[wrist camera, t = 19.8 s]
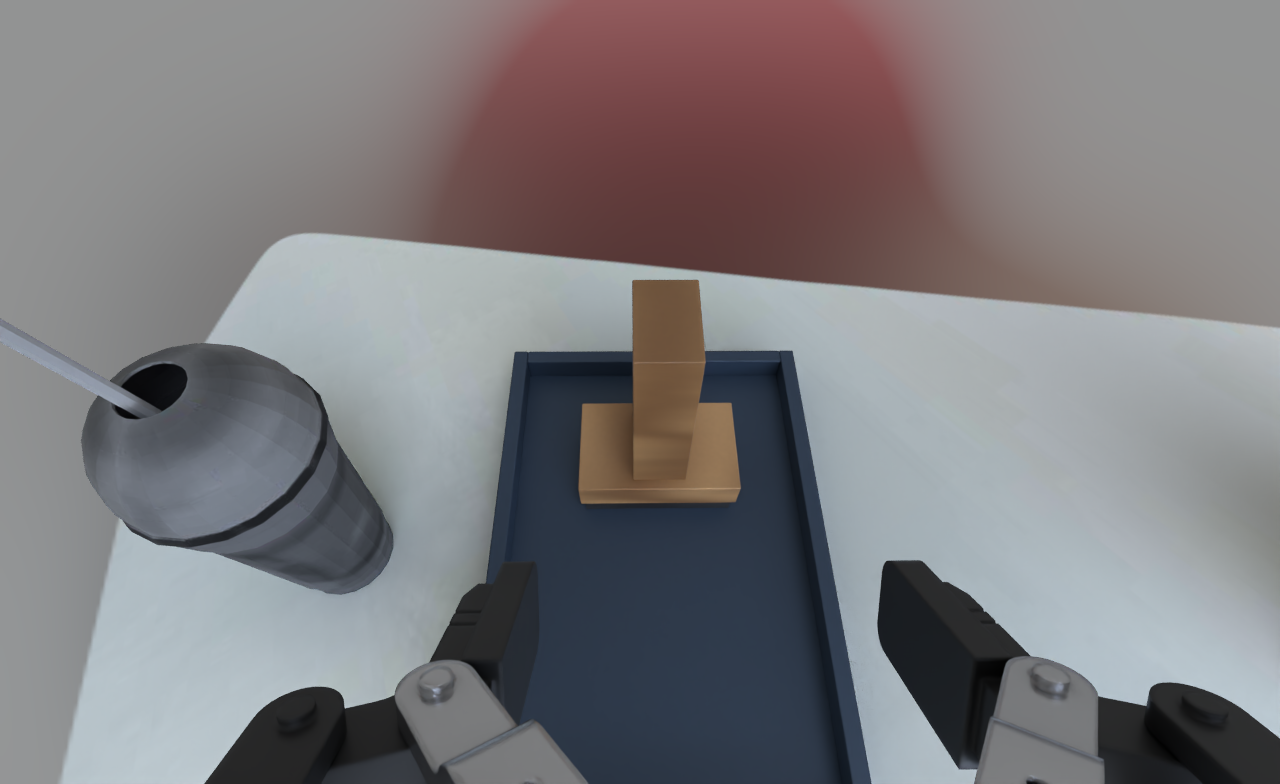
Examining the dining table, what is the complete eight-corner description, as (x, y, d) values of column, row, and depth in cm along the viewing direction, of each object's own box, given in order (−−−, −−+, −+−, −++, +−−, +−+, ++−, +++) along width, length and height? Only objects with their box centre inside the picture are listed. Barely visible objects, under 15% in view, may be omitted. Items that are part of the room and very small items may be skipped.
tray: (785, 370, 38) (792, 350, 36) (864, 835, 25) (882, 839, 23) (520, 371, 38) (514, 351, 36) (465, 841, 25) (452, 846, 23)
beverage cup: (446, 559, 31) (229, 302, 14) (311, 656, 29) (-144, 481, 12) (380, 461, 34) (137, 154, 17) (253, 541, 32) (-176, 271, 15)
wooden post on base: (724, 429, 35) (766, 269, 24) (732, 511, 32) (783, 373, 21) (585, 430, 35) (564, 270, 24) (582, 512, 32) (556, 374, 21)
